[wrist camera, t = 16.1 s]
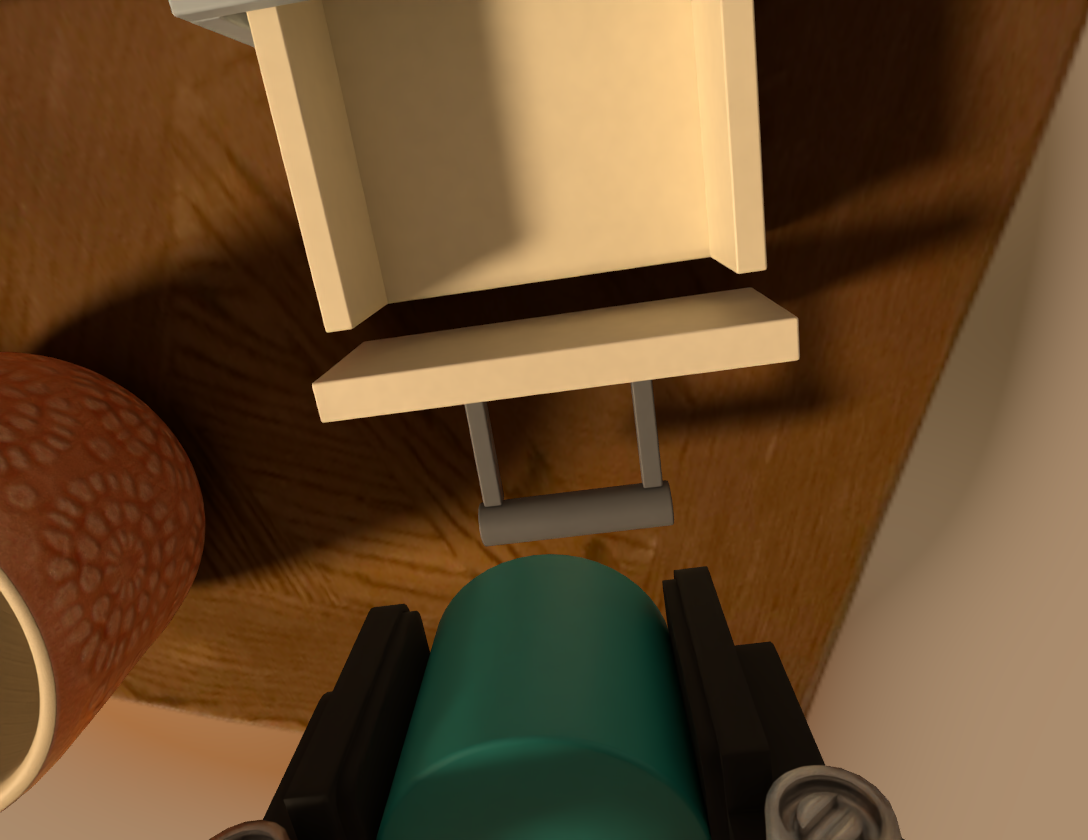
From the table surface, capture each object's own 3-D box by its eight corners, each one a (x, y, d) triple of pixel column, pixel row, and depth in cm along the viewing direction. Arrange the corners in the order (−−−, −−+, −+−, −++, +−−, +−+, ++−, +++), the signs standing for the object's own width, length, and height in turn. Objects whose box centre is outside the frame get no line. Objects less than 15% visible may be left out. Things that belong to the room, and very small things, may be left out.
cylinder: (657, 537, 11) (702, 720, 8) (683, 739, 13) (732, 983, 9) (411, 568, 12) (335, 759, 8) (459, 762, 13) (415, 1006, 9)
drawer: (762, 463, 26) (807, 532, 21) (401, 506, 27) (362, 582, 22) (727, -153, 20) (778, -260, 15) (267, -65, 21) (173, -137, 16)
